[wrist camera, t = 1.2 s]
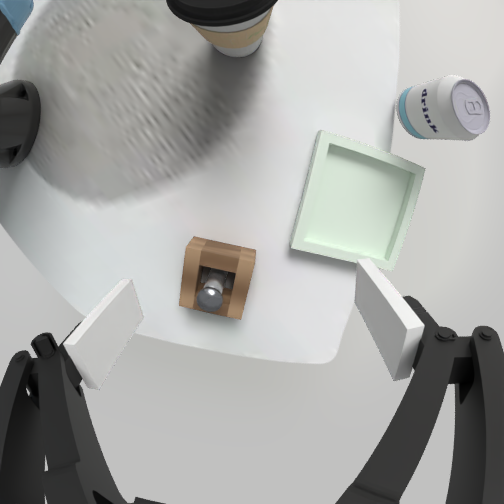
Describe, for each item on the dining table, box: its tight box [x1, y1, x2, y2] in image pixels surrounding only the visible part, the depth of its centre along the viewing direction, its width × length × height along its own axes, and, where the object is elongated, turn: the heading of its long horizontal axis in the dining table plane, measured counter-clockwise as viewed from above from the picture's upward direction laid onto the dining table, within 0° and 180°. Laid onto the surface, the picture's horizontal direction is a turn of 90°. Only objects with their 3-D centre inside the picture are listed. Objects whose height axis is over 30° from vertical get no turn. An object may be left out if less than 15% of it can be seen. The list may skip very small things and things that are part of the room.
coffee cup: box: [166, 0, 278, 57], centre depth 19 cm, size 9×9×15 cm
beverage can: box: [397, 75, 490, 141], centre depth 22 cm, size 7×7×12 cm
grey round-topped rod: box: [196, 268, 228, 312], centre depth 33 cm, size 3×3×8 cm
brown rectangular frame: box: [179, 237, 256, 320], centre depth 35 cm, size 10×8×4 cm
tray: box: [290, 130, 425, 271], centre depth 32 cm, size 14×14×2 cm
